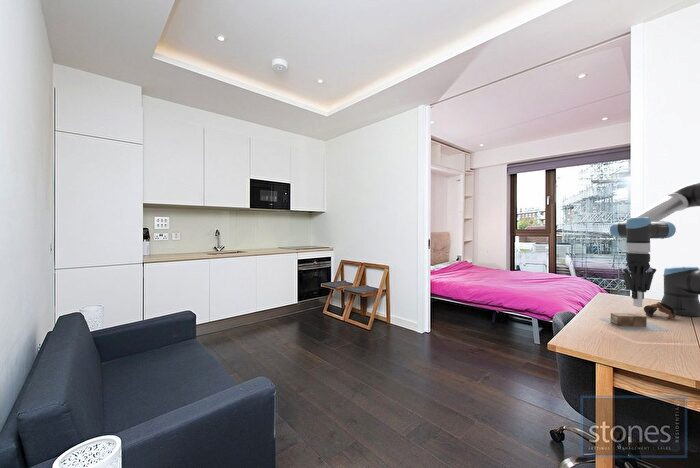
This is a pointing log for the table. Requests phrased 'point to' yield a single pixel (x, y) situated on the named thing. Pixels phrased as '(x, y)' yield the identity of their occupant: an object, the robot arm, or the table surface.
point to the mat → (649, 327)
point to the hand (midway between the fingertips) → (637, 306)
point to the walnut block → (629, 319)
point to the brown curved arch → (652, 308)
